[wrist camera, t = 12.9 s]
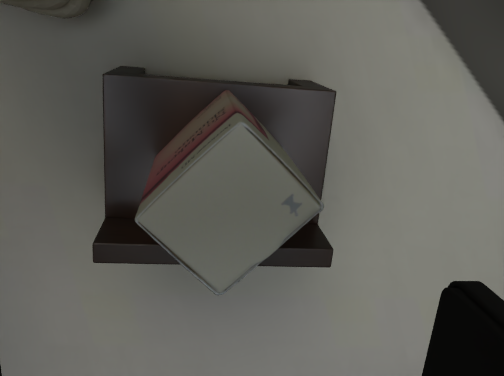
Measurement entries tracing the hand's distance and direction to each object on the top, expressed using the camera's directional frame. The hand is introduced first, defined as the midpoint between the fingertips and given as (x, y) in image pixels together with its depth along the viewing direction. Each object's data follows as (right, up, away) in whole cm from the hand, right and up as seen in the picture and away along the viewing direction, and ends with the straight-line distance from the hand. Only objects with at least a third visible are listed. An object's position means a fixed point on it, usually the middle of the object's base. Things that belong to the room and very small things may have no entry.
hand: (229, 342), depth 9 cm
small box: (-1, +5, +13) cm, 14 cm away
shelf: (-2, +6, +18) cm, 19 cm away
